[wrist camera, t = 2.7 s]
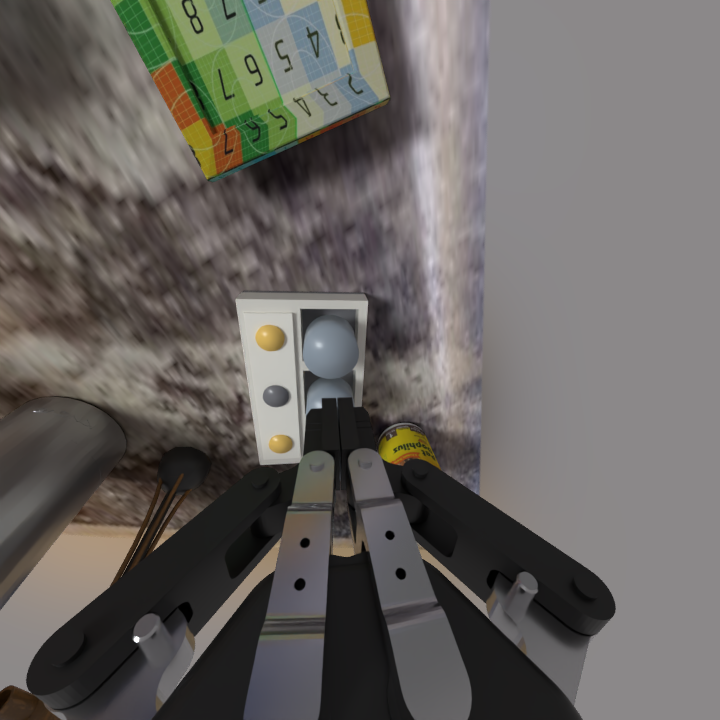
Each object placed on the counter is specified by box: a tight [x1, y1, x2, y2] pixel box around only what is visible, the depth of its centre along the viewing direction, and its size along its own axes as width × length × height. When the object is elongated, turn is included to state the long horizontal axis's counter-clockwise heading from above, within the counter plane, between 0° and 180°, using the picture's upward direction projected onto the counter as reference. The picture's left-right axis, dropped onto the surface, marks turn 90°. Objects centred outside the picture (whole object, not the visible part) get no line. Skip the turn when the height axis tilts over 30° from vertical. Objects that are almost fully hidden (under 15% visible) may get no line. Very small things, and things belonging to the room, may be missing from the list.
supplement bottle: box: [378, 423, 441, 470], centre depth 29 cm, size 6×6×10 cm
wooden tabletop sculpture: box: [0, 447, 211, 720], centre depth 23 cm, size 6×5×20 cm
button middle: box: [306, 378, 355, 415], centre depth 25 cm, size 4×4×3 cm
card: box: [243, 312, 301, 460], centre depth 26 cm, size 15×4×1 cm, turn 177°
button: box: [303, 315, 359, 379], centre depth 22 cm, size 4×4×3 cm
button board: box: [236, 291, 368, 465], centre depth 27 cm, size 17×10×2 cm, turn 177°
